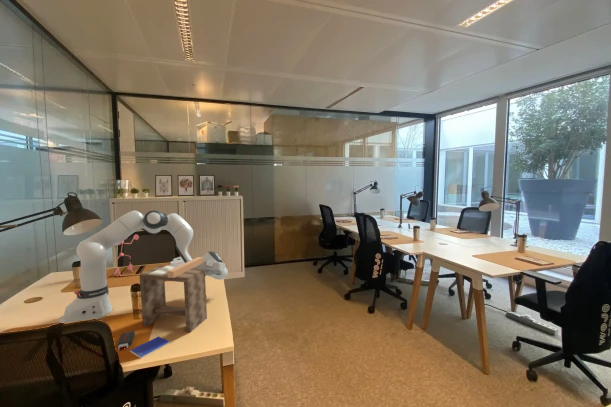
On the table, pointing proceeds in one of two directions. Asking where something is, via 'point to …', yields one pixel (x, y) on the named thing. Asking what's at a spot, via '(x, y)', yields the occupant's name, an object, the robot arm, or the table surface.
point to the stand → (156, 301)
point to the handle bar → (185, 267)
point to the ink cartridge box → (177, 262)
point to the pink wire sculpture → (126, 255)
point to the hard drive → (149, 347)
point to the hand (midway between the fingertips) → (197, 262)
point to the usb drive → (125, 340)
